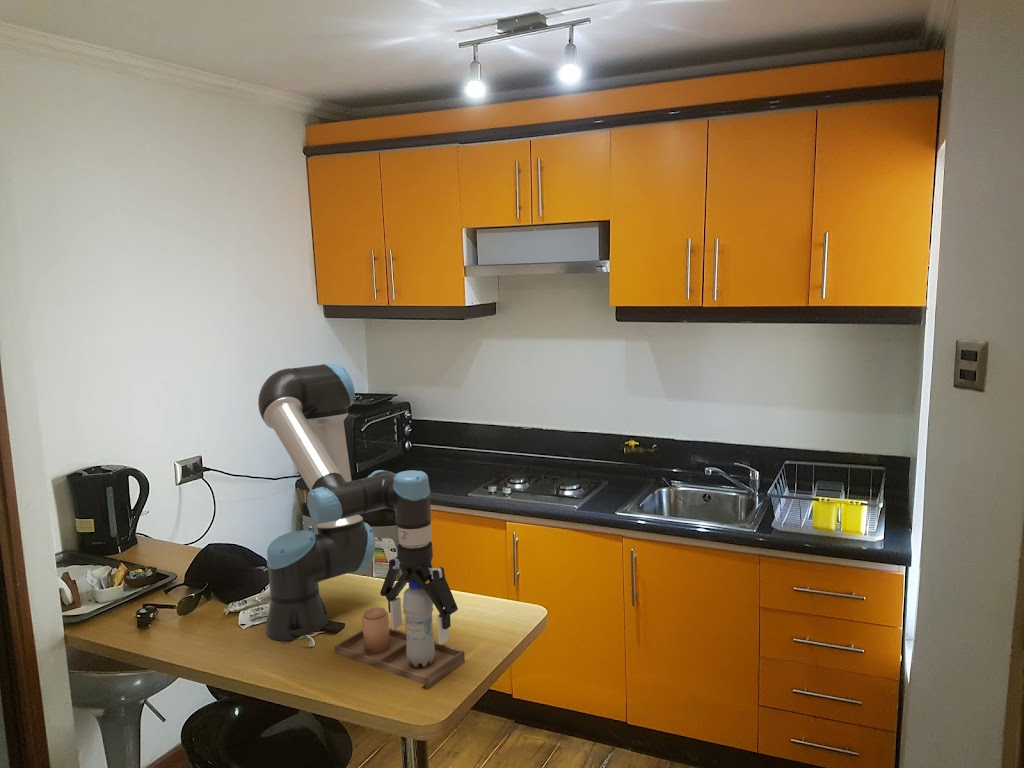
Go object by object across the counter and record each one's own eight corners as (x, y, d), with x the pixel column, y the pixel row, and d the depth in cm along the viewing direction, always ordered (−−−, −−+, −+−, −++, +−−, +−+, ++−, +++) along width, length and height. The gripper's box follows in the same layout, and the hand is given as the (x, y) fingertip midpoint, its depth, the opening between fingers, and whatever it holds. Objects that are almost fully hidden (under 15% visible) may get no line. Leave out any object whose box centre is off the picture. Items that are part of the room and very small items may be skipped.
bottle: (400, 667, 167) (395, 581, 164) (414, 653, 173) (410, 569, 170) (427, 672, 165) (423, 585, 162) (441, 657, 171) (437, 573, 168)
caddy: (335, 656, 175) (334, 646, 175) (375, 632, 186) (374, 623, 186) (426, 689, 160) (426, 678, 160) (464, 661, 171) (464, 651, 171)
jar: (358, 649, 176) (356, 614, 174) (376, 638, 181) (374, 604, 179) (377, 656, 172) (375, 620, 171) (395, 645, 177) (393, 609, 176)
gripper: (360, 538, 169) (366, 627, 172) (449, 558, 155) (453, 655, 158) (384, 528, 175) (389, 614, 178) (471, 546, 161) (475, 640, 164)
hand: (419, 634), depth 168 cm, fingers open, 13 cm apart
